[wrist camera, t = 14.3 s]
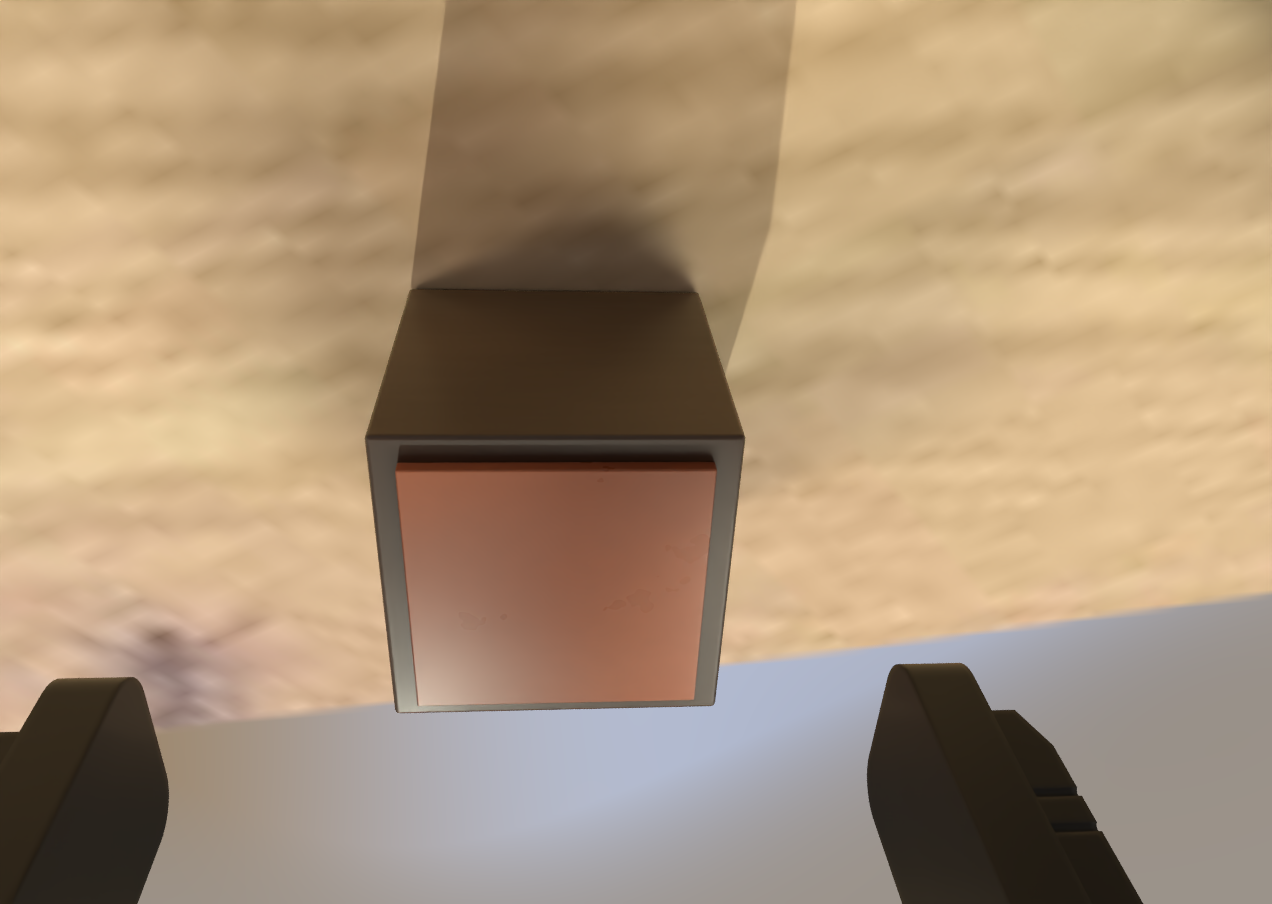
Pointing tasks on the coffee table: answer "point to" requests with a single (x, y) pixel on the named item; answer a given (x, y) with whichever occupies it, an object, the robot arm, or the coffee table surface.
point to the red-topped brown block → (554, 500)
